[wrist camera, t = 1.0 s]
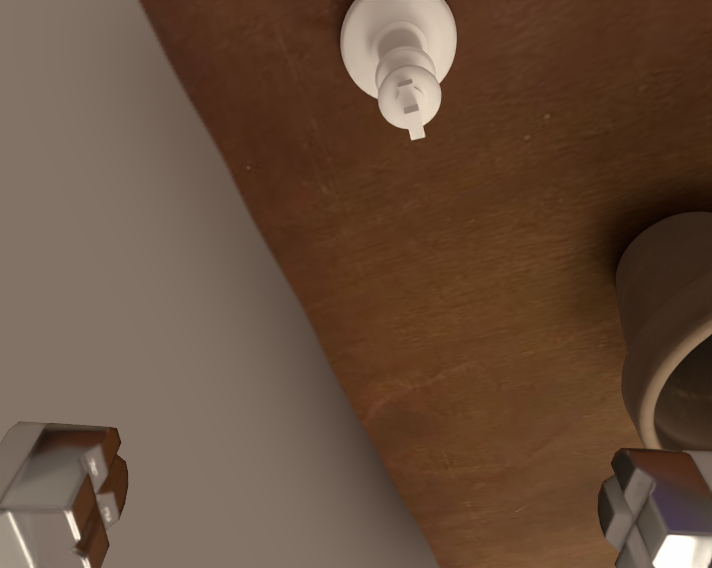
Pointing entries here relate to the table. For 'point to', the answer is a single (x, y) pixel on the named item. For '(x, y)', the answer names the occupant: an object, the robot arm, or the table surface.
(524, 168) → the table surface
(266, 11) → the table surface
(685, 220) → the flower pot
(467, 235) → the table surface
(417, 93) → the chess piece
